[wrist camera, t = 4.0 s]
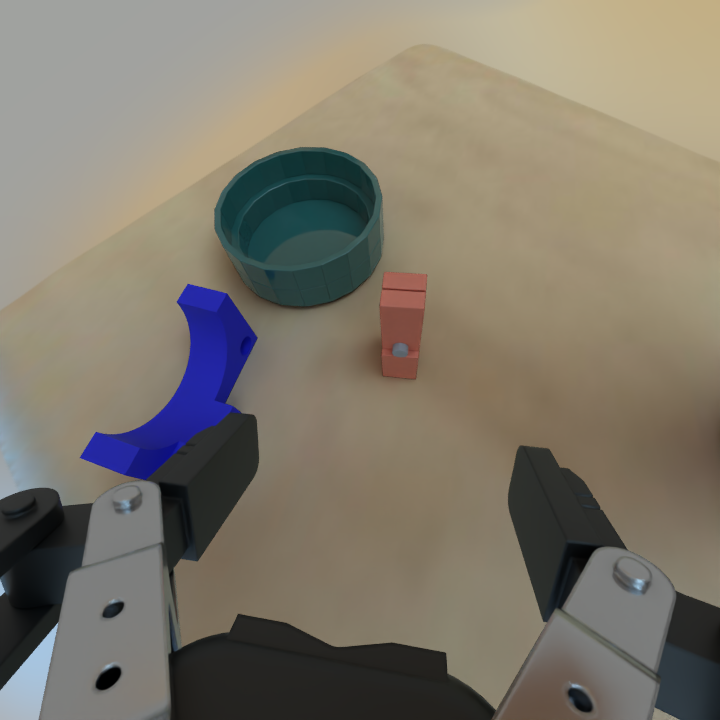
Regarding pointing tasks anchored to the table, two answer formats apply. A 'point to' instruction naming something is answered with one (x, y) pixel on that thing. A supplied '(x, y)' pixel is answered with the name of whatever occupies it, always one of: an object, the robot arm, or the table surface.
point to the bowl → (302, 225)
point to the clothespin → (402, 322)
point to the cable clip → (185, 388)
